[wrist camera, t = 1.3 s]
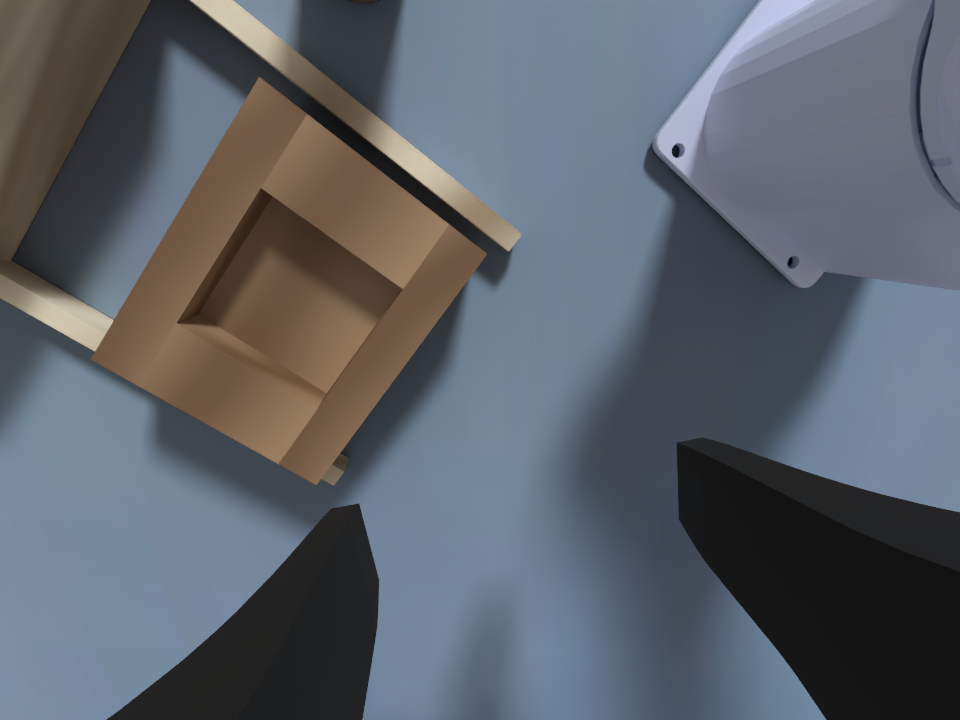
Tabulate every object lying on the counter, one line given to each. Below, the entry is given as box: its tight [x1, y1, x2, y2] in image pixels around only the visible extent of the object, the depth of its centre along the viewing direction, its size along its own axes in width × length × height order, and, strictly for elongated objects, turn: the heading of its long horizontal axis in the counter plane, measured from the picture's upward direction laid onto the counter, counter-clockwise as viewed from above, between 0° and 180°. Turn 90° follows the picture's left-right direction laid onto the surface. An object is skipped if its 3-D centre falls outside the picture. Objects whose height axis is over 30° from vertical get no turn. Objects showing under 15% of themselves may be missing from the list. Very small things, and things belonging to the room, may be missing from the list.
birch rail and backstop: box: [0, 0, 522, 486], centre depth 16 cm, size 16×13×5 cm
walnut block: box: [91, 77, 487, 485], centre depth 17 cm, size 8×10×4 cm
